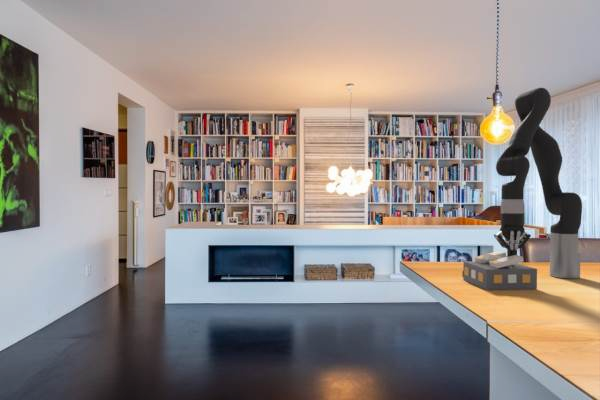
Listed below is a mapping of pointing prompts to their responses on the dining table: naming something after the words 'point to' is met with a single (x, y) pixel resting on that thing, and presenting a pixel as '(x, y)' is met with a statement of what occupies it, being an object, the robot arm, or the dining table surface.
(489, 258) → the rocker
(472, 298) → the dining table surface
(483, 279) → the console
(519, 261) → the rocker
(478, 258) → the white rectangular block
